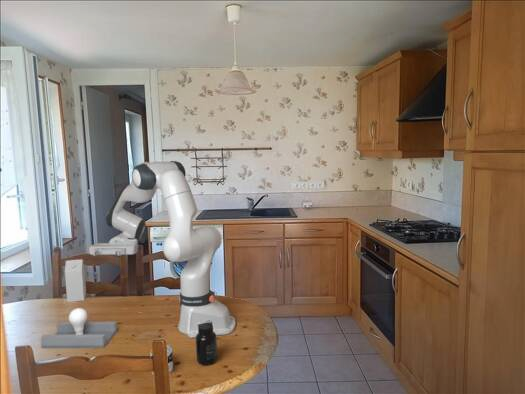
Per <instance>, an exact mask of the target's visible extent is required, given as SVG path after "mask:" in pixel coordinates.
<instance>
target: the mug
mask: <svg viewBox="0 0 525 394" xmlns="http://www.w3.org/2000/svg"><path fill="white" fill-rule="evenodd" d="M166 346H167V356H168V365H169V375H170V374H171V373H172V372H173V371H174V362H173V361H174V358H173V357H174V355H173V347H172V344H170V343H169V344H166ZM149 354H150V357H151V356H152V349H151V350H150V353H149ZM172 370H173V371H172ZM171 371H172V372H171ZM150 373H151V374H152V376H153V375H154V373H153V372H151V371H150Z"/></svg>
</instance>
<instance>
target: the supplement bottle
mask: <svg viewBox="0 0 525 394" xmlns="http://www.w3.org/2000/svg"><path fill="white" fill-rule="evenodd" d="M217 343H218V341H217V335H216V333H215V332H214V331H213V325H212V324H211V323H203V324H200V325H199V326H198V334H197V335H196V337H195V353H196V362H197V364H198V365H200V364H201V366H210V365H209V364H211V365H213V364H215V363H216V362H217V360H218V344H217ZM214 362H215V363H214ZM212 363H213V364H212Z"/></svg>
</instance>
